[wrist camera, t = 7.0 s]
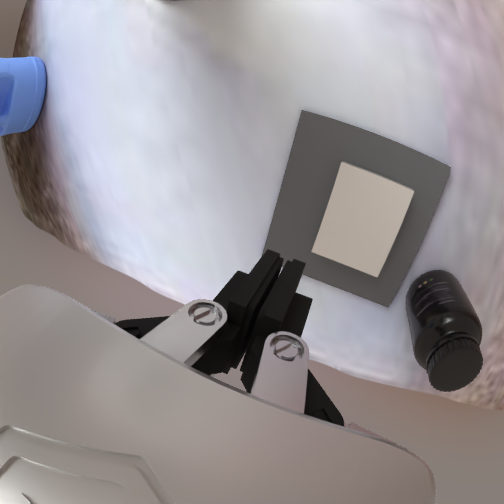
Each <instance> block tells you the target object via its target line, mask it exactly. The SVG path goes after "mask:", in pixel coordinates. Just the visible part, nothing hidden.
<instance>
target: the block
mask: <svg viewBox="0 0 504 504" xmlns="http://www.w3.org/2000/svg"><path fill="white" fill-rule="evenodd" d="M413 194H414V190H412V189H411V188H409V187H407V186H405V185H402V184H400V183H398V182H395V181H393V180H390V179H388V178H386V177H383V176H381V175H378V174H376V173H373V172H371V171H368V170H365V169H363V168H360V167H357V166H355V165H352V164H349V163H347V162H344V161H342V162H341V165H340V168H339V171H338V175H337V178H336V181H335V184H334V187H333V190H332V193H331V196H330V199H329V202H328V205H327V208H326V211H325V214H324V217H323V220H322V223H321V226H320V229H319V232H318V234H317V237H316V240H315V243H314V246H313V249H312V251H311V252H313V253H316V254H318V255H321V256H323V257H326V258H329V259H331V260H334V261H336V262H339V263H342V264H344V265H347V266H349V267H352V268H354V269H357V270H360V271H362V272H365V273H367V274H370V275H372V276H375V277H378V275H379V273H380V271H381V269H382V267H383V265H384V263H385V260H386V258H387V256H388V254H389V252H390V250H391V247H392V245H393V243H394V241H395V238H396V236H397V234H398V231H399V229H400V227H401V224H402V222H403V219H404V217H405V214H406V212H407V209H408V207H409V204H410V201H411V199H412V196H413Z"/></svg>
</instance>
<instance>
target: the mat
mask: <svg viewBox="0 0 504 504" xmlns="http://www.w3.org/2000/svg"><path fill="white" fill-rule="evenodd" d="M342 161H344V162H347V163H349V164H352V165H355V166H357V167H360V168H363V169H365V170H368V171H371V172H373V173H376V174H378V175H381V176H383V177H386V178H388V179H390V180H393V181H395V182H398V183H400V184H402V185H405V186H407V187H409V188H411V189H412V190H414V194H413V196H412V199H411V201H410V204H409V207H408V209H407V212H406V214H405V217H404V219H403V222H402V224H401V227H400V229H399V231H398V234H397V236H396V238H395V241H394V243H393V245H392V247H391V250H390V252H389V254H388V256H387V258H386V260H385V263H384V265H383V267H382V269H381V271H380V273H379V275H378V277H375V276H372V275H370V274H367V273H365V272H362V271H360V270H357V269H354V268H352V267H349V266H347V265H344V264H342V263H339V262H336V261H334V260H331V259H329V258H326V257H323V256H321V255H318V254H316V253H313V252H311V251H312V249H313V246H314V243H315V240H316V237H317V234H318V232H319V229H320V226H321V223H322V220H323V217H324V214H325V211H326V208H327V205H328V202H329V199H330V196H331V193H332V190H333V187H334V184H335V181H336V178H337V175H338V171H339V168H340V165H341V162H342ZM450 169H451V167H449V166H447V165H445V164H443V163H441V162H439V161H437V160H435V159H433V158H431V157H429V156H427V155H424V154H422V153H420V152H418V151H416V150H413V149H411V148H409V147H407V146H404V145H402V144H400V143H397V142H395V141H392V140H390V139H387V138H385V137H382V136H380V135H377V134H375V133H372V132H369V131H366V130H364V129H361V128H358V127H355V126H352V125H349V124H346V123H343V122H340V121H337V120H334V119H331V118H328V117H324V116H321V115H318V114H314V113H311V112H307V111H303V110H302V112H301V115H300V119H299V123H298V127H297V130H296V134H295V138H294V142H293V145H292V149H291V153H290V156H289V160H288V164H287V167H286V171H285V175H284V178H283V182H282V186H281V189H280V193H279V196H278V200H277V204H276V207H275V211H274V215H273V218H272V222H271V225H270V229H269V232H268V236H267V240H266V243H265V247H264V250H263V254H264V253H265V252H266V250H267V249H269V250H272V251H275V252H277V253H280V257H281V258H284V261H283V264H282V266H283V267H284V266H285V264H286V262H287V260H289V261H293V259H296V260H299V261H302V262H304V263H306V265H305V268H304V270H303V273H302V274H303V275H306V276H308V277H311V278H314V279H316V280H319V281H321V282H324V283H326V284H329V285H332V286H334V287H337V288H339V289H342V290H345V291H347V292H350V293H352V294H355V295H357V296H360V297H363V298H365V299H368V300H370V301H373V302H376V303H378V304H381V305H383V306H386V307H389V305H390V303H391V302H392V300H393V298H394V296H395V294H396V293H397V291H398V289H399V287H400V285H401V283H402V281H403V280H404V278H405V276H406V274H407V272H408V270H409V268H410V266H411V264H412V262H413V260H414V258H415V256H416V253H417V251H418V249H419V247H420V245H421V243H422V240H423V238H424V236H425V234H426V231H427V229H428V227H429V225H430V222H431V220H432V217H433V215H434V212H435V210H436V207H437V205H438V202H439V200H440V197H441V194H442V192H443V189H444V186H445V183H446V181H447V178H448V175H449V172H450ZM263 254H262V256H263Z"/></svg>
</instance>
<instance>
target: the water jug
mask: <svg viewBox="0 0 504 504" xmlns="http://www.w3.org/2000/svg"><path fill="white" fill-rule="evenodd" d="M45 88H46V72H45V67H44V64H43V62H42V60H41V59H40V58H38V57H26V58H6V59H5V58H0V136H2V135H6V134H11V133H16V132H17V133H19V132H24V131H27V130H29V129H30V128H31V127H32V126H33V125H34V124H35V122H36V120H37V118H38V116H39V114H40V111H41V108H42V105H43V100H44V95H45Z"/></svg>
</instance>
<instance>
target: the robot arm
mask: <svg viewBox="0 0 504 504" xmlns="http://www.w3.org/2000/svg"><path fill="white" fill-rule="evenodd" d="M283 261H284V258H281V257H280V253H277V252H275V251H272V250H269V249H267V250H266V252H265V253H264V254H263V256H262V257H261V259H260V260H259V261H258V263H257V264H256V265H255V267H254V268H253V269H252V271H251V272H250V273H249V274H246V273H244V272H241V271H237V272H236V273H235V275H234V276H233V277H232V278H231V279H230V281H229V282H228V283H227V284H226V285H225V287H224V288H223V289H222V290H221V291H220V293H219V294H218V295H217V296H216V297H215V299H214V300H213V301H211V300H206V299H198V300H193V301H191V302H189V303H188V304H186V305H185V306H184V307H182V308H181V309H180V310H178V311H177V312H176V313H174V314H173V315H172V316H166V317H155V318H143V319H130V320H123V321H119V322H115V318H112V317H110V316H107V315H104V314H102V313H99V312H96V311H94V310H91V309H89V308H87V307H86V306H84V305H82V304H81V303H79V302H77V301H76V300H74V299H73V298H70V297H69V296H67V295H65V294H63V293H61V292H59V291H56V290H54V289H51V288H48V287H44V286H40V285H32V284H27V285H22V286H19V287H17V288H15V289H13V290H11V291H9V292H7V293H5V294H4V295H2V296H0V504H436V486H435V480H434V476H433V473H432V471H431V469H430V468H429V466H428V465H427V464H426V463H425V462H424V461H423V460H422V459H421V458H420V457H418V456H417V455H416V454H414V453H412V452H411V451H409V450H408V449H406V448H404V447H402V446H400V445H398V444H396V443H394V442H392V441H390V440H388V439H385V438H383V437H381V436H379V435H377V434H375V433H373V432H371V431H369V430H366V429H365V428H362V427H360V426H358V425H357V424H355V423H353V422H351V423H350V424H348V423H346V422H344V420H343V417H342V416H341V414H340V412H339V411H338V410H337V408H336V407H335V405H334V404H333V402H332V401H331V400H330V398H329V397H328V396H327V394H326V393H325V391H324V390H323V389H322V387H321V386H320V384H319V383H318V382H317V380H316V379H315V377H314V376H313V374H312V373H311V372H310V370H309V369H308V361H309V349H308V346H307V344H306V343H305V342H304V341H303V340H302V338H301V335H302V332H303V329H304V326H305V322H306V319H307V316H308V313H309V310H310V306H311V303H312V298H309V297H306V296H304V295H301V294H298V293H296V289H297V287H298V284H299V281H300V279H301V276H302V273H303V270H304V268H305V265H306V263H304V262H302V261H299V260H296V259H293V261H289V260H287V262H286V264H285V266H284V268H283V269H282V271H281V273H280V270H281V267H282V264H283ZM279 273H280V275H279ZM278 276H279V277H278ZM245 352H246V354H245V356H244V359H243V362H242V365H241V368H240V371H242V372H243V374H242V376H241V381H242V383H243V385H244V387H245V389H246V392H245V391H242V390H240V389H238V388H235V387H233V386H230V385H228V384H226V383H224V382H222V381H220V380H217V379H215V378H213V377H214V374H216V373H221V372H223V373H226V374H228V372H229V370H230V368H231V367H232V368H235V369H236V368H237V366H238V365H239V363H240V361H241V359H242V357H243V355H244V353H245Z"/></svg>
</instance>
